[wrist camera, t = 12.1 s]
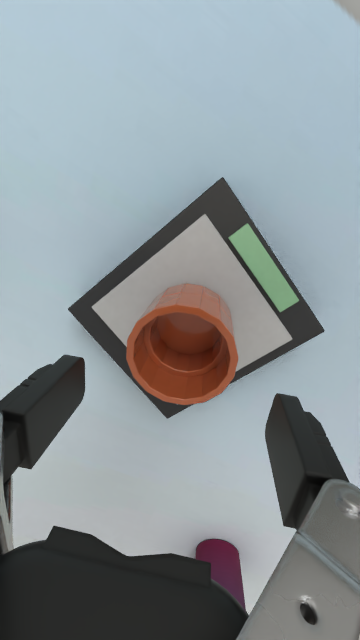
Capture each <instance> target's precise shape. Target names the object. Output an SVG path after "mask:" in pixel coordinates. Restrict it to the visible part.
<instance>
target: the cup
mask: <svg viewBox="0 0 360 640" xmlns="http://www.w3.org/2000/svg"><path fill="white" fill-rule="evenodd" d="M195 559H197V560H201V561H206V562H210V563H211V579H213V580H214V581H216V582H217V583H219V584H220V585H221V586H223V587H224V588H225V589H226V590H228V591H229V592H230V593H231V594H232V595H233V596H234V597H235V598H236V599H237V601H238V602H239V603H240V604H241V606H242V607H243V608H244V609H245V600H244V592H243V584H242V576H241V567H240V559H239V553H238V550H237V549H236V548H235V547H234V546H233V545H232V544H230V543H228V542H226V541H223V540H218V539H210V540H205V541H203V542H201V543H200V544H199V545H198V546H197V549H196V557H195ZM245 611H246V609H245Z"/></svg>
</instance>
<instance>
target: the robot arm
mask: <svg viewBox="0 0 360 640" xmlns="http://www.w3.org/2000/svg"><path fill="white" fill-rule="evenodd" d="M84 392H85V362H84V359H83V358H81V357H75V356H70V355H63V356H62V357H61V358H60V359H59V360H58V361H56V362H55V363H54V364H53V365H52V364H49V365H46V366H44V367H42V368H40V369H38V370H36V371H35V372H34V373H33V374H31V375H30V376H29V377H28V379H25V380H24V381H23V382H22V383H21V384H20V386H19V385H18V386H17V387H16V388H15V389H14V390H12V391H11V392H10V393H9V394H8V395H6V396H5V397H4V398H3V399H2V400H1V401H0V640H358V639H359V634H360V489H359V488H358V487H356V486H355V485H353V484H351V483H350V482H349V480H348V478H347V476H346V474H345V472H344V470H343V468H342V466H341V464H340V462H339V460H338V458H337V456H336V454H335V452H334V450H333V448H332V447H331V444H330V442H329V440H328V438H327V437H326V433H325V431H324V429H323V427H322V425H321V423H320V422H319V421H318V420H317V419H316V418H315V417H314V416H313V415H312V414H311V413H310V412H305V411H303V408H302V406H301V404H300V401H299V399H298V398H297V397H295V396H289V395H284V394H278V393H277V394H276V395H275V397H274V400H273V404H272V407H271V410H270V413H269V417H268V420H267V423H266V429H265V439H266V444H267V449H268V454H269V458H270V463H271V468H272V473H273V478H274V482H275V487H276V492H277V497H278V501H279V506H280V511H281V516H282V521H283V525H284V526H286V527H291V528H295V529H296V530H297V531H296V533H295V534H294V536H293V538H292V540H291V541H290V543H289V545H288V547H287V549H286V550H285V552H284V554H283V556H282V558H281V559H280V561H279V563H278V565H277V567H276V568H275V570H274V572H273V574H272V576H271V577H270V579H269V581H268V583H267V585H266V586H265V588H264V590H263V592H262V594H261V595H260V597H259V599H258V601H257V603H256V604H255V606H254V608H253V610H252V612H251V613H250V615H248V614H247V612H246V611H245V609H244V608H243V607H242V606H241V604H240V603H239V602H238V601H237V599H236V598H235V597H234V596H233V595H232V594H231V593H230V592H229V591H228V590H226V589H225V588H224V587H223V586H221V585H220V584H219V583H217V582H216V581H214V580H213V579H211V563H210V562H206V561H201V560H197V559H193V558H189V557H184V556H180V555H176V554H172V553H169V554H157V555H144V556H125V555H123V554H122V553H120V552H118V551H117V550H115V549H114V548H112V547H110V546H109V545H107V544H106V543H104V542H102V541H101V540H99V539H98V538H96V537H94V536H93V535H91V534H87V533H82V532H78V531H74V530H70V529H66V528H61V527H57V526H53V528H52V530H51V532H50V534H49V536H48V538H47V540H41V541H37V542H32V543H28V544H25V545H22V546H20V547H17V548H15V549H14V546H13V479H12V474H13V473H14V471H15V470H16V469H17V468H18V467H22V468H27V469H32V467H33V466H34V465H35V463H36V462H37V461H38V459H39V458H40V457H41V455H42V454H43V453H44V451H45V450H46V449H47V447H48V446H49V445H50V443H51V442H52V441H53V439H54V438H55V437H56V435H57V434H58V432H59V431H60V430H61V428H62V427H63V426H64V424H65V423H66V422H67V420H68V419H69V418H70V416H71V415H72V414H73V412H74V411H75V410H76V408H77V407H78V406H79V404H80V403H81V401H82V399H83V396H84Z"/></svg>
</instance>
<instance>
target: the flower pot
mask: <svg viewBox="0 0 360 640" xmlns="http://www.w3.org/2000/svg"><path fill="white" fill-rule="evenodd" d="M126 359H127V362H128V365H129V367H130V370H131V373H132V375H133V377H134V378H135V380H136V381H137V382H138V383H139V384H140V385H141V386H142V387H143V388H144V390H145V391H147V392H148V393H150V394H152V395H153V396H155V397H157V398H159V399H161V400H163V401H165V402H170V403H175V404H181V405H189V404H196V403H203V402H206V401H208V400H210V399H211V398H213V397H215V396H217V395H219V394H221V393H222V392H223V391H224V390H225V388H226V387H227V386H228V384H229V383H230V382H231V381H232V379H233V378H234V376H235V372H236V367H237V363H238V351H237V345H236V338H235V332H234V326H233V321H232V317H231V312H230V310H229V307H228V306H227V305H226V303H225V302H224V301H223V299H222V298H221V297H220V296H219V295H218V294H217V293H215V292H213V291H212V290H210V289H208V288H206V287H204V286H202V285H195V284H188V283H186V284H181V285H176V286H172V287H169V288H167V289H166V290H164V291H163V292H162V293H160V294H159V295H158V296H156V297H155V299H154V300H153V301H152V302H151V304H150V305H149V306H148V308H147V309H146V310H145V312H144V313H143V314H142V316H141V317H140V318H139V320H138V321H137V322H136V324H135V326H134V328H133V329H132V331H131V333H130V335H129V337H128V339H127V352H126Z"/></svg>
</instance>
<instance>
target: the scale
mask: <svg viewBox="0 0 360 640" xmlns="http://www.w3.org/2000/svg"><path fill="white" fill-rule="evenodd" d="M186 283H188V284H195V285H202V286H204V287H206V288H208V289H210V290H212V291H213V292H215V293H217V294H218V295H219V296H220V297H221V298H222V299H223V301H224V302H225V303H226V305H227V306H228V307H229V310H230V312H231V317H232V321H233V326H234V332H235V338H236V345H237V351H238V363H237V367H236V372H235V376H234V378H233V379H232V381H231V382H230V383H229V384H231V383H232V382H234V381H236V380H238V379H240V378H241V377H243V376H245V375H247V374H249V373H250V372H252V371H254V370H256V369H258V368H259V367H261V366H263V365H265V364H267V363H268V362H270V361H272V360H274V359H276V358H277V357H279V356H281V355H283V354H285V353H286V352H288V351H290V350H292V349H294V348H295V347H297V346H299V345H301V344H303V343H304V342H306V341H308V340H310V339H312V338H313V337H315V336H317V335H319V334H321V333H322V332H324V329H323V327H322V326H321V324H320V323H319V321H318V320H317V318H316V317H315V315H314V314H313V312H312V311H311V309H310V308H309V306H308V305H307V303H306V302H305V300H304V299H303V297H302V296H301V294H300V293H299V291H298V290H297V288H296V287H295V285H294V283H293V282H292V280H291V279H290V277H289V276H288V274H287V273H286V271H285V270H284V268H283V267H282V265H281V264H280V262H279V261H278V259H277V258H276V256H275V255H274V253H273V252H272V250H271V249H270V247H269V246H268V244H267V243H266V241H265V240H264V238H263V237H262V235H261V234H260V232H259V231H258V229H257V228H256V226H255V225H254V223H253V221H252V220H251V218H250V217H249V215H248V214H247V212H246V211H245V209H244V208H243V206H242V205H241V203H240V202H239V200H238V199H237V197H236V196H235V194H234V193H233V191H232V190H231V188H230V187H229V185H228V184H227V182H226V181H225V179H224V178H223V177H222V178H221V179H220V180H218V181H217V182H216V183H215V184H214V185H213V186H211V187H210V188H209V189H208V190H207V191H205V192H204V193H203V194H202V195H201V196H200V197H198V198H197V199H196V200H195V201H194V202H193V203H191V204H190V205H189V206H188V207H187V208H186V209H184V210H183V211H182V212H181V213H180V214H178V215H177V216H176V217H175V218H174V219H173V220H171V221H170V222H169V223H168V224H167V225H166V226H164V227H163V228H162V229H161V230H160V231H159V232H157V233H156V234H155V235H154V236H153V237H152V238H150V239H149V240H148V241H147V242H146V243H144V244H143V245H142V246H141V247H140V248H139V249H137V250H136V251H135V252H134V253H133V254H132V255H130V256H129V257H128V258H127V259H126V260H125V261H123V262H122V263H121V264H120V265H119V266H117V267H116V268H115V269H114V270H113V271H112V272H110V273H109V274H108V275H107V276H106V277H105V278H103V279H102V280H101V281H100V282H99V283H98V284H96V285H95V286H94V287H93V288H92V289H91V290H89V291H88V292H87V293H86V294H85V295H83V296H82V297H81V298H80V299H79V300H78V301H76V302H75V303H74V304H73V305H72V306H71V307H69V308H68V310H69V311H70V312H71V313H72V314H73V316H74V317H75V318H76V319H77V320H78V321H79V322H80V323H81V324H82V325H83V327H84V328H85V329H86V330H87V331H88V332H89V333H90V334H91V335H92V336H93V338H94V339H95V340H96V341H97V342H98V343H99V344H100V345H101V346H102V347H103V349H104V350H105V351H106V352H107V353H108V354H109V355H110V356H111V357H112V358H113V360H114V361H115V362H116V363H117V364H118V365H119V366H120V367H121V368H122V369H123V371H124V372H125V373H126V374H127V375H128V376H129V377H130V378H131V379H132V380H133V382H134V383H135V384H136V385H137V386H138V387H139V388H140V389H141V390H142V391H143V393H144V394H145V395H146V396H147V397H148V398H149V399H150V400H151V401H152V402H153V404H154V405H155V406H156V407H157V408H158V409H159V410H160V411H161V412H162V413H163V415H164V416H165V417H166V418H169V417H171V416H173V415H175V414H177V413H178V412H180V411H182V410H184V409H186V408H187V407H189V406H191V405H193V404H189V405H181V404H175V403H170V402H165V401H163V400H161V399H159V398H157V397H155V396H153V395H152V394H150V393H148V392H147V391H145V390H144V388H143V387H142V386H141V385H140V384H139V383H138V382H137V381H136V380H135V378H134V377H133V375H132V373H131V370H130V367H129V365H128V362H127V359H126V352H127V339H128V337H129V335H130V333H131V331H132V329H133V328H134V326H135V324H136V322H137V321H138V320H139V318H140V317H141V316H142V314H143V313H144V312H145V310H146V309H147V308H148V306H149V305H150V304H151V302H152V301H153V300H154V299H155V297H156V296H158V295H159V294H160V293H162V292H163V291H164V290H166V289H167V288H169V287H172V286H176V285H181V284H186ZM229 384H228V385H229Z"/></svg>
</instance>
